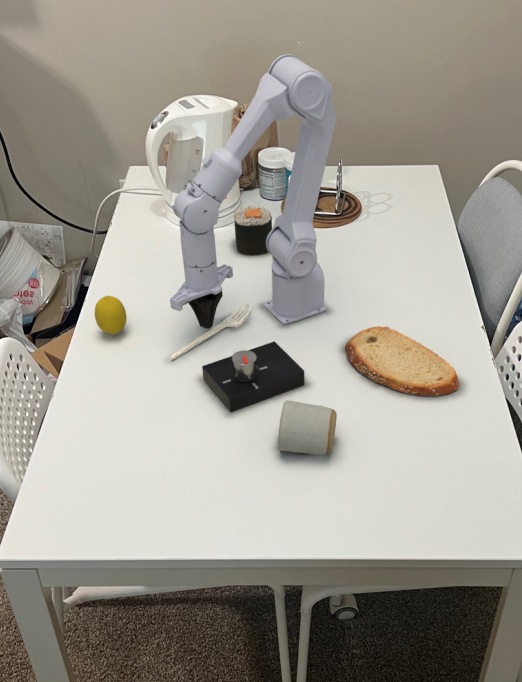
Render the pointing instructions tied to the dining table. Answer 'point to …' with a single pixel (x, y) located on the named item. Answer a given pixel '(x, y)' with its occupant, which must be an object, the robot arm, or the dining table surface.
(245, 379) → the hob knob
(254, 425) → the dining table surface
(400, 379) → the bread slice
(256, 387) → the black knob base
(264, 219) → the sushi
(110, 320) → the lemon
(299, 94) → the robot arm
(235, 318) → the fork
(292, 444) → the ceramic mug
